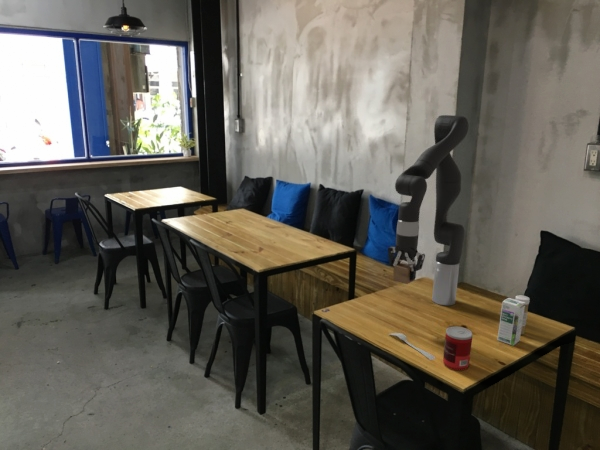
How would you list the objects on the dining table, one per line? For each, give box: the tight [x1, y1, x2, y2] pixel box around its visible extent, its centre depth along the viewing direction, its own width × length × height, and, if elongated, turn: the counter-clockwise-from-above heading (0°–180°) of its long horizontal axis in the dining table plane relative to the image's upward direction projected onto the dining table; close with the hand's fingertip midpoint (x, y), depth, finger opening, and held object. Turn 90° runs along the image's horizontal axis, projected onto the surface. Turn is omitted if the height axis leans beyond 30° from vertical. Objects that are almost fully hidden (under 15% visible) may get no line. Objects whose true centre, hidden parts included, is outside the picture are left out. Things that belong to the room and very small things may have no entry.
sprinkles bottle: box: [514, 294, 531, 335], centre depth 168 cm, size 5×5×14 cm
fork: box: [387, 332, 436, 361], centre depth 158 cm, size 3×21×3 cm, turn 32°
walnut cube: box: [392, 261, 416, 285], centre depth 169 cm, size 6×6×6 cm
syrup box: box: [497, 297, 525, 347], centre depth 161 cm, size 6×6×14 cm
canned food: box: [442, 326, 473, 371], centre depth 146 cm, size 8×8×11 cm
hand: (404, 278), depth 169 cm, fingers closed on walnut cube, 5 cm apart
